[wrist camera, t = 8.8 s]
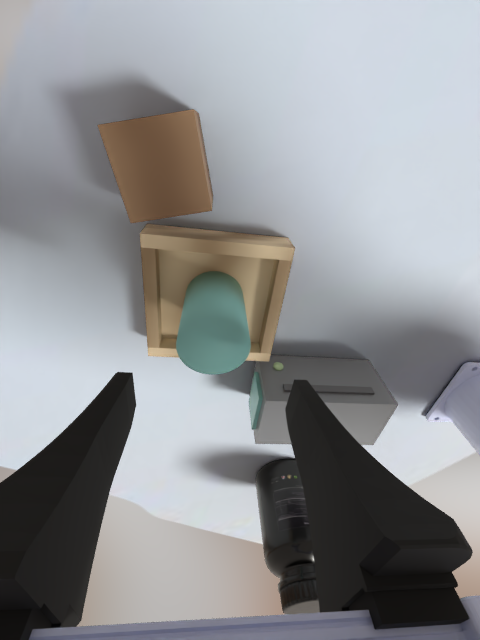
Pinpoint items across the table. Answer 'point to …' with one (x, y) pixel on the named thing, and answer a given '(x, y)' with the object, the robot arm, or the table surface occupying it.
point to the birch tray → (203, 256)
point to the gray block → (333, 388)
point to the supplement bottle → (287, 535)
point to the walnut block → (159, 165)
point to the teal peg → (213, 325)
